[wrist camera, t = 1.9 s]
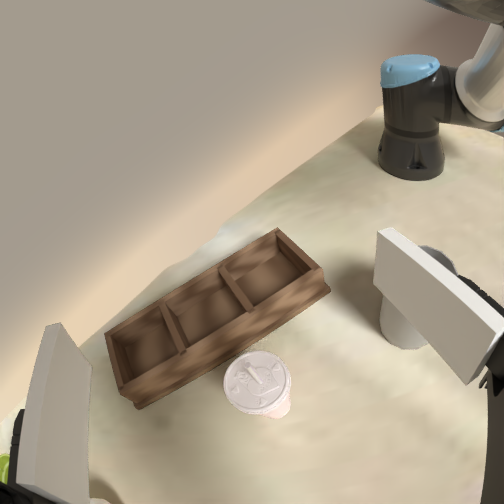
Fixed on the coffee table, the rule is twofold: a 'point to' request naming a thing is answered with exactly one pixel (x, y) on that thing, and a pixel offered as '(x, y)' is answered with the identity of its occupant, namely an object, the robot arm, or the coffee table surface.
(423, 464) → the coffee table surface
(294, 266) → the caddy
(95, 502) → the geometric ball
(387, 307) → the cup
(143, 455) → the coffee table surface
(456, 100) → the robot arm
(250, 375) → the smoothie
